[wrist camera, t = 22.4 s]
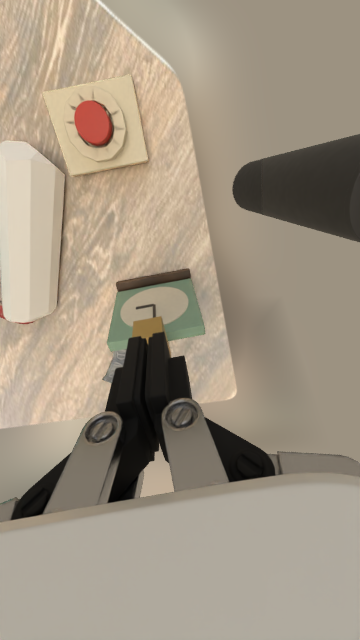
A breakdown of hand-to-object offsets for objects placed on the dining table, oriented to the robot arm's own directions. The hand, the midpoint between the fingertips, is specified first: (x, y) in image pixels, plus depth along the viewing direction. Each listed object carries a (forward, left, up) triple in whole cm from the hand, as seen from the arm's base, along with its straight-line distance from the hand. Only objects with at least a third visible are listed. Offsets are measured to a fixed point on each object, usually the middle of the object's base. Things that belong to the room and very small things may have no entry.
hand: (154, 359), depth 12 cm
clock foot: (+2, +6, -29) cm, 30 cm away
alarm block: (+4, -14, -29) cm, 33 cm away
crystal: (+18, -3, -29) cm, 34 cm away
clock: (+2, +9, -19) cm, 21 cm away
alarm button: (+4, -14, -25) cm, 29 cm away
